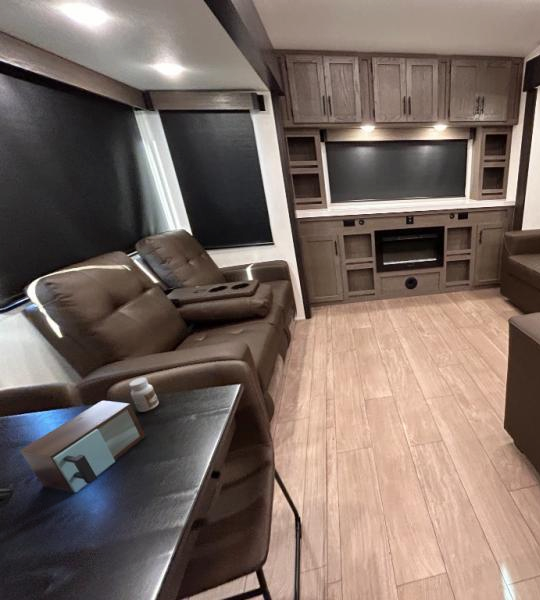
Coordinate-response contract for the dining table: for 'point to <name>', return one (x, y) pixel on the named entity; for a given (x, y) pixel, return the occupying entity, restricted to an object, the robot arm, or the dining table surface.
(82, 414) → the cabinet
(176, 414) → the dining table surface
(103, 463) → the glass door
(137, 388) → the pill bottle
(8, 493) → the robot arm
